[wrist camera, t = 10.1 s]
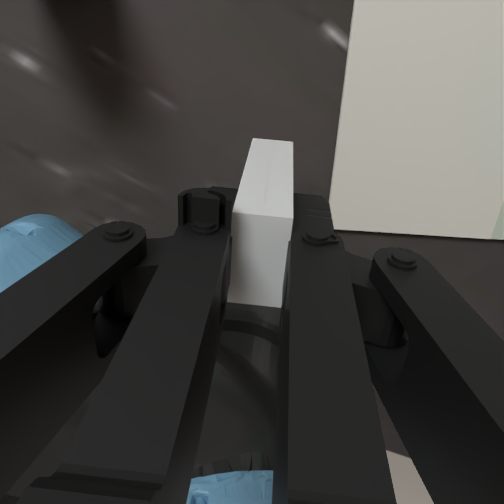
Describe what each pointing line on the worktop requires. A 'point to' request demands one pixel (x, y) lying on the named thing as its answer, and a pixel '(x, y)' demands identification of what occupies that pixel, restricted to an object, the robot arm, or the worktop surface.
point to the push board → (422, 120)
